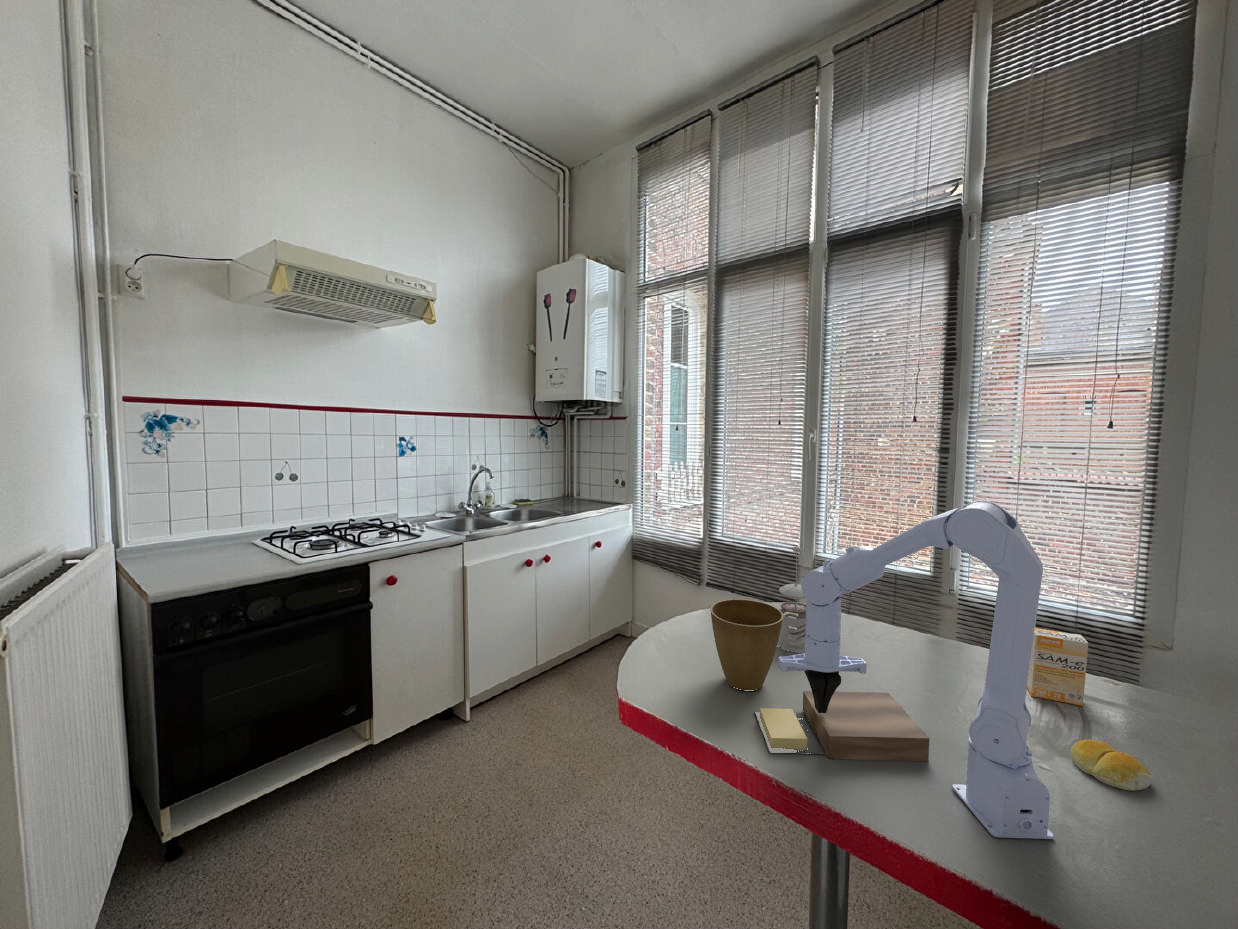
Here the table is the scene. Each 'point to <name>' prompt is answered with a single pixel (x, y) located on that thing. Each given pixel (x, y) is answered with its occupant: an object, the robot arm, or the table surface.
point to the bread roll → (1110, 765)
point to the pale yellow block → (783, 729)
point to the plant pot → (746, 640)
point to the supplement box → (1058, 666)
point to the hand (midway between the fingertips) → (820, 710)
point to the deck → (866, 728)
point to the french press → (789, 636)
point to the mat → (809, 737)
